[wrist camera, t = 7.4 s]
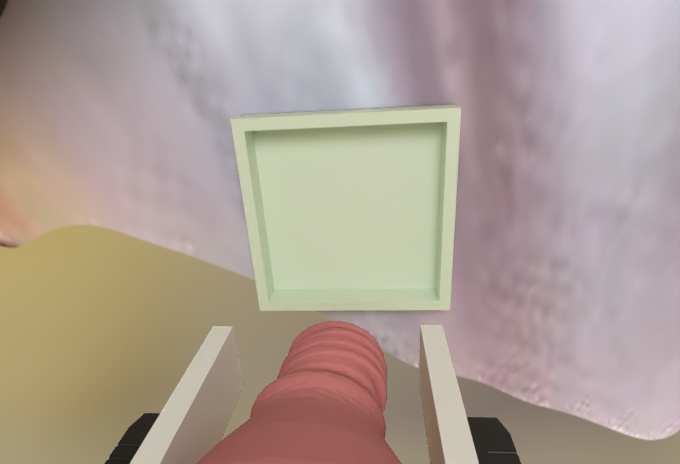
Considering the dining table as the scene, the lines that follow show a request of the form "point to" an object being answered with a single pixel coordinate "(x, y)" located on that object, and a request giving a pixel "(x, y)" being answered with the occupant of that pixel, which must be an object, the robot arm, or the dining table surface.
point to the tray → (350, 206)
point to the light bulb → (318, 405)
